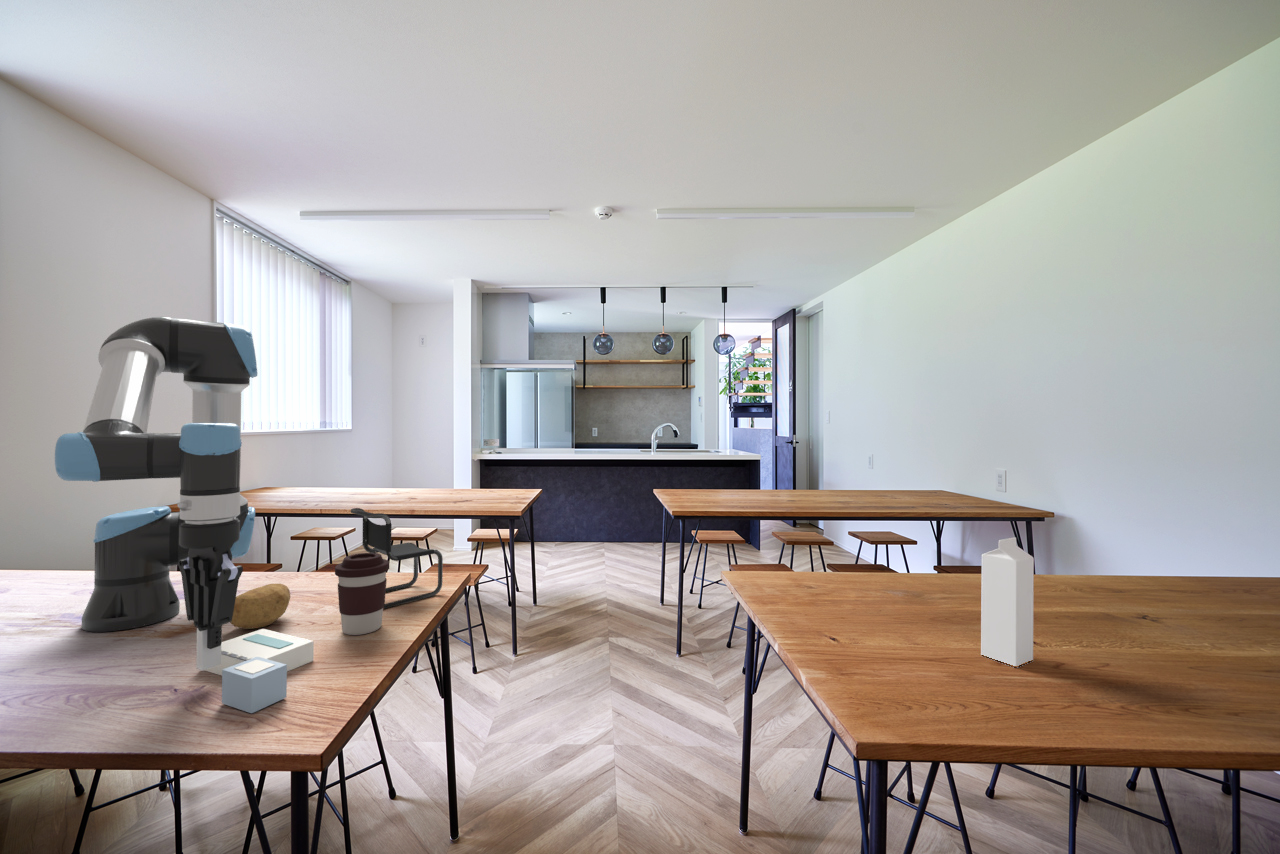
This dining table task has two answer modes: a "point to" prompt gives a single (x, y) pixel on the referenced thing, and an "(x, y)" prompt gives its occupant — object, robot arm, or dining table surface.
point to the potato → (260, 606)
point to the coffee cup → (361, 592)
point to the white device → (265, 649)
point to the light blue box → (254, 684)
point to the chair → (395, 552)
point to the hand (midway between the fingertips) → (208, 666)
